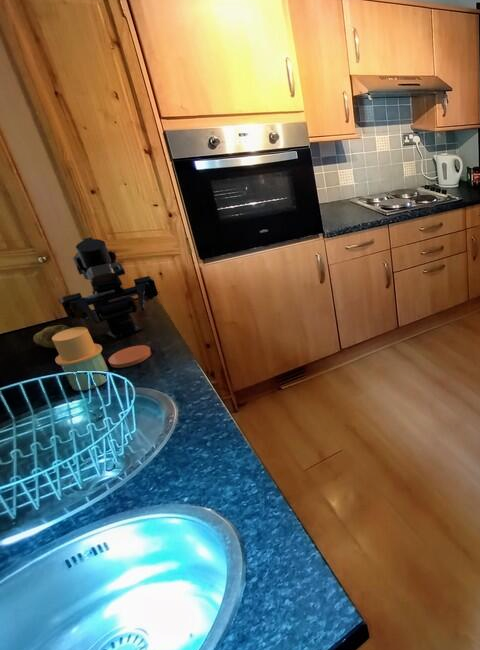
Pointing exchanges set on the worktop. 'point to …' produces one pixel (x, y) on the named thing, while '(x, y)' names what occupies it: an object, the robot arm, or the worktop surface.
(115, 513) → the worktop surface
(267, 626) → the worktop surface
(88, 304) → the robot arm
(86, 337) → the orange top hat
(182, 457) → the worktop surface
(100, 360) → the pale green cylinder
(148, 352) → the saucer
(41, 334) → the potato
